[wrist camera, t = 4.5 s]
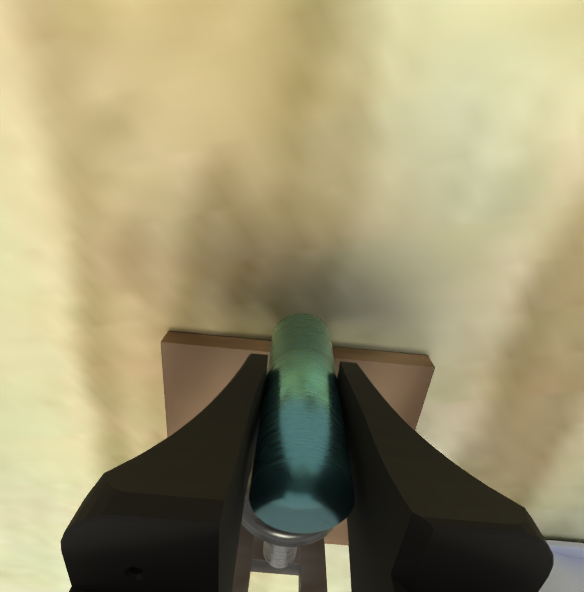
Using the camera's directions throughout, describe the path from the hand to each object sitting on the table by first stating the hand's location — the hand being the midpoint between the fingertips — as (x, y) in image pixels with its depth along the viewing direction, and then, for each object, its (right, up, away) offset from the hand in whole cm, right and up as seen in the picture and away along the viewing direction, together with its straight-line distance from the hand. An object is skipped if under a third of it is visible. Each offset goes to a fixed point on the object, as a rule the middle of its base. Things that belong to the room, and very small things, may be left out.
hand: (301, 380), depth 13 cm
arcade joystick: (0, -3, +4) cm, 5 cm away
